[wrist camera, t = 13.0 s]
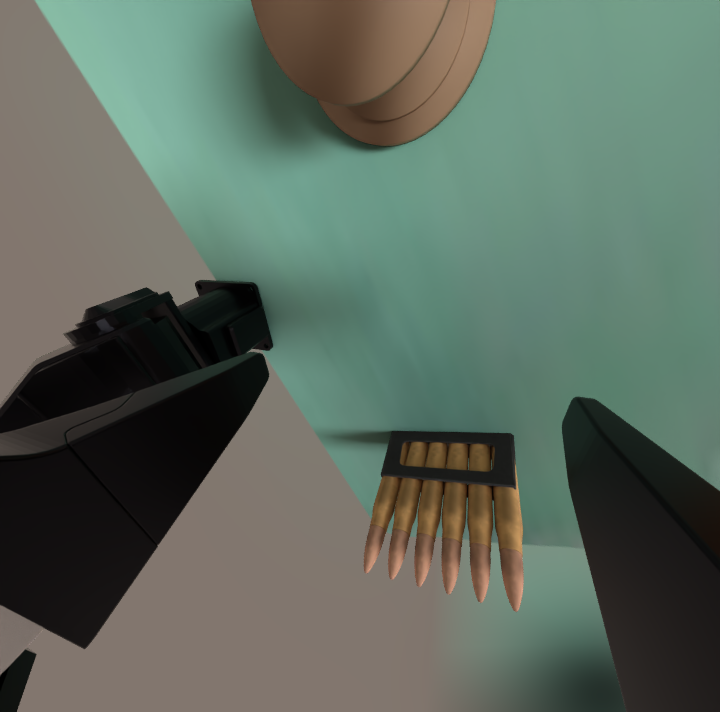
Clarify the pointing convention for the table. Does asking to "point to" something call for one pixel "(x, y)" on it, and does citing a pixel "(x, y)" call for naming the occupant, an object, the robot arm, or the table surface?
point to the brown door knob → (379, 59)
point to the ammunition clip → (450, 506)
